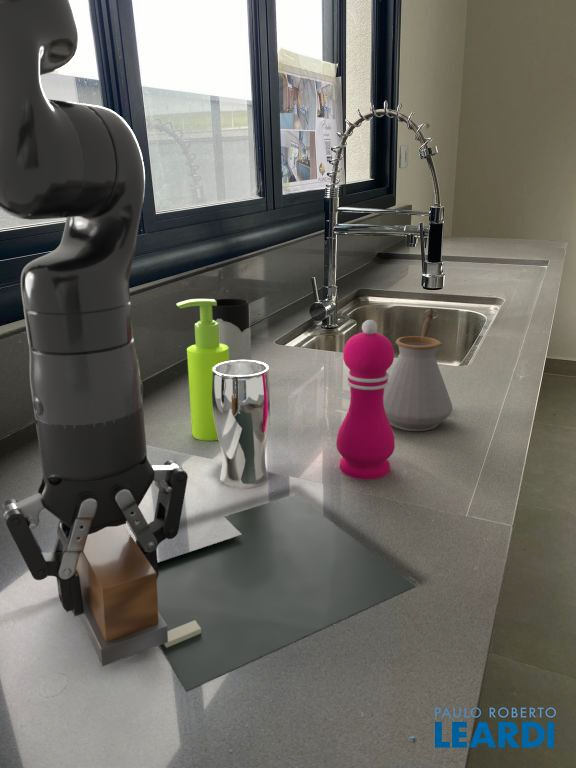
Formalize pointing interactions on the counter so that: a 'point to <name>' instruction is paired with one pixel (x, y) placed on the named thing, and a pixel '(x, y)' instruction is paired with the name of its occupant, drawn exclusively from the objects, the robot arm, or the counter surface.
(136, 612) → the eraser
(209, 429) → the soap dispenser
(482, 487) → the counter surface
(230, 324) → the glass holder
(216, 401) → the beer glass
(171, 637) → the off-white small bar
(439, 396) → the coffee pot
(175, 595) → the chalkboard
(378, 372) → the pepper mill
